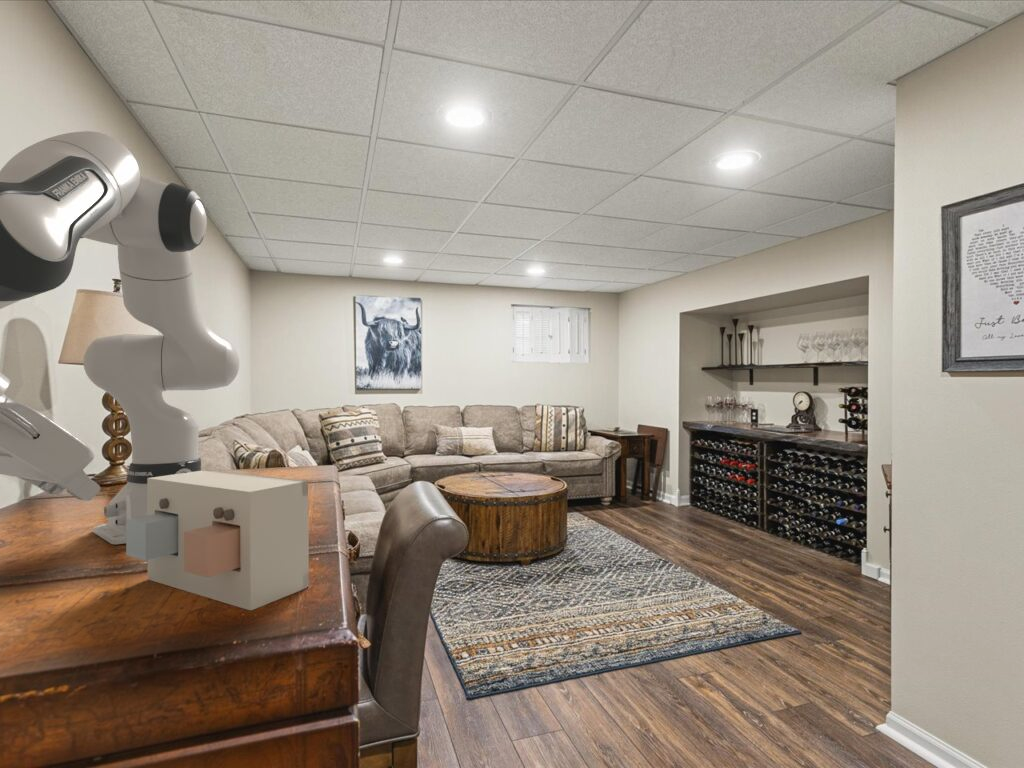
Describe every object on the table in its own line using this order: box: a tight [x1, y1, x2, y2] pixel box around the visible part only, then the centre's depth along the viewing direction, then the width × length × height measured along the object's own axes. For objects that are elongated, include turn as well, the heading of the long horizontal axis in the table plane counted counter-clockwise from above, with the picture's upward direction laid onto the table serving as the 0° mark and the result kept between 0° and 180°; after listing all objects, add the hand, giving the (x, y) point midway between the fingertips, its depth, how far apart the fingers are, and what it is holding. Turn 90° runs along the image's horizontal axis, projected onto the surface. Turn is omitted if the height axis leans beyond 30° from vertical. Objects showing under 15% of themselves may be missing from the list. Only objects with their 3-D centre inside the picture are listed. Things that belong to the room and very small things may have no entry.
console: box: [147, 469, 310, 611], centre depth 77 cm, size 24×10×15 cm, turn 61°
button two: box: [184, 523, 241, 578], centre depth 70 cm, size 5×8×5 cm, turn 151°
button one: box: [125, 512, 178, 562], centre depth 77 cm, size 5×8×5 cm, turn 151°
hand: (76, 492), depth 56 cm, fingers open, 5 cm apart
